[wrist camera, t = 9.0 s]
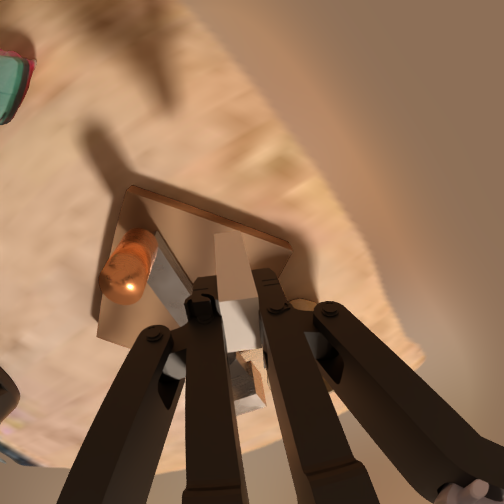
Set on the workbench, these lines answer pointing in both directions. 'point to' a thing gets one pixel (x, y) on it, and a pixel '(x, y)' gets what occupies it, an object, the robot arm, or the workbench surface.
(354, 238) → the workbench surface
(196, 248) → the board
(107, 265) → the lever
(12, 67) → the power drill
